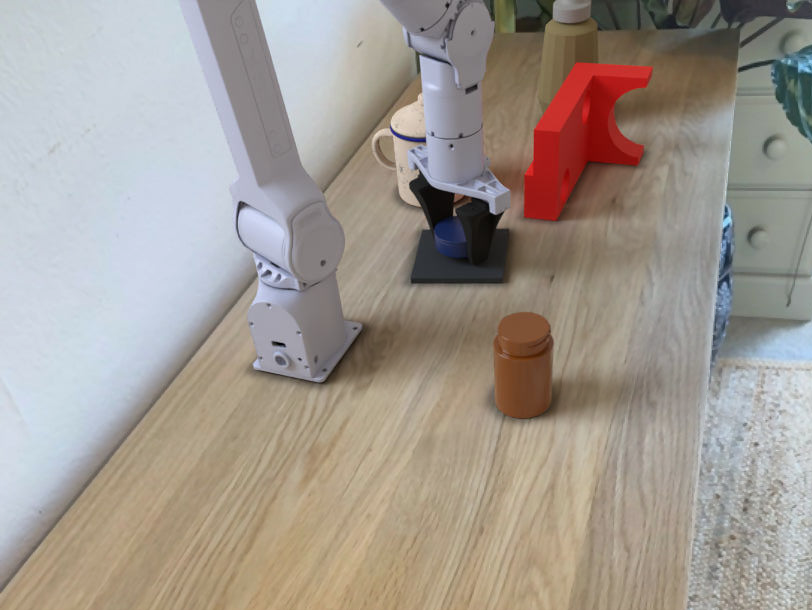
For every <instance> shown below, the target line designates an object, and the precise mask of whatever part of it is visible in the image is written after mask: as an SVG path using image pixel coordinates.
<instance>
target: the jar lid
mask: <svg viewBox="0 0 812 610" xmlns="http://www.w3.org/2000/svg"><path fill="white" fill-rule="evenodd" d="M434 235H435V247H436V249H437V251H438V252H439V253H441V254H443V255H445V256H448V257H454V258H463V257H468V253H467V245H466V238H465V234H464V230H463V227H462V225H461V222H460V220H459V218H458V216H457V215H456V214H455V215H453V216H451V217H448V218H445V219H443V220H442V221H440V222H439V223H438V224H437V225H436V226H435V229H434Z"/></svg>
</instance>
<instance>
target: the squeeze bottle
mask: <svg viewBox="0 0 812 610" xmlns="http://www.w3.org/2000/svg"><path fill="white" fill-rule="evenodd" d="M552 3H553V4H552V19H551V20H550V21H548V22H547V23H546V24H545V27H544V35H543V45H542V52H541V53H542V55H541V64H540V72H539V80H538V89H537V99H538V102H539V103H538V104H539V106H540V109H541V112H542V115H543V114H544V113H545V111H546V110H547V108H548V106H549V105H550V103H551V102H552V100H553V99H554V97H555V95H556V94H557V92H558V91H559V89H560V87H561V86H562V84H563V83H564V81H565V80H566V78H567V76H568V75H569V73H570V72H571V70H572V68H573V67H574V65H575V64H576V62H578V63H596V64H599V33H598V30H599V29H598V22H597V21H596V20H595V19H594V18H593V17H592V16H591V14H592V13H591V12H592V0H555V1H553V2H552Z"/></svg>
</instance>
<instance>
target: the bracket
mask: <svg viewBox="0 0 812 610" xmlns="http://www.w3.org/2000/svg"><path fill="white" fill-rule="evenodd" d="M653 71H654V66H648V65H647V66H646V65H631V64H629V65H628V64H613V63H598V64H596V63H578V62H576V64H575V65H574V67H573V68H572V70H571V72H570V73H569V75H568V76H567V78H566V80H565V81H564V83H563V84H562V86H561V87H560V89H559V91H558V92H557V94H556V95H555V97H554V99H553V100H552V102H551V103H550V105H549V106H548V108H547V110H546V111H545V113H544V114H543V113H542V116H541V117H540V119H539V121H538V122H537V124H536V125H535V127H534V129H533V146H532V147H533V148H532V149H533V150H532V151H533V152H532V153H533V155H532V156H533V157H532V161H531V163H530V165H529V167H528V168H527V170H526V171H525V173H524V174H523V177H524V178H523V218H527V219H535V220H545V221H554V222H557V220H558V219H559V217H560V215H561V213H562V212H563V209H564V208H565V205H566V203H567V201H568V199H569V198H570V196H571V194H572V192H573V190H574V189H575V186H576V184H577V182H578V180H579V179H580V177H581V175H582V172H583V171H584V169H585V167H586V165H587V163H588V162H596V163H604V164H615V165H626V166H639V164H640V161H641V159H642V157H643V155H644V151H645V150H644V149H645V144H642V143H641V144H640V143H637V142H634V141H631V139H629V138H627V136H625V135H624V134H623V133H622V132H621V130H620V129H619V127H618V124H617V121H616V118H615V107H616V102H617V101H618V100H619V99H620V98H621V97H622V96H624V95H625V94H627V93H628V92H631V91H634V90H637V89H646V88H648V85H649V84H650V81H651V79H652V77H653Z"/></svg>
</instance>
